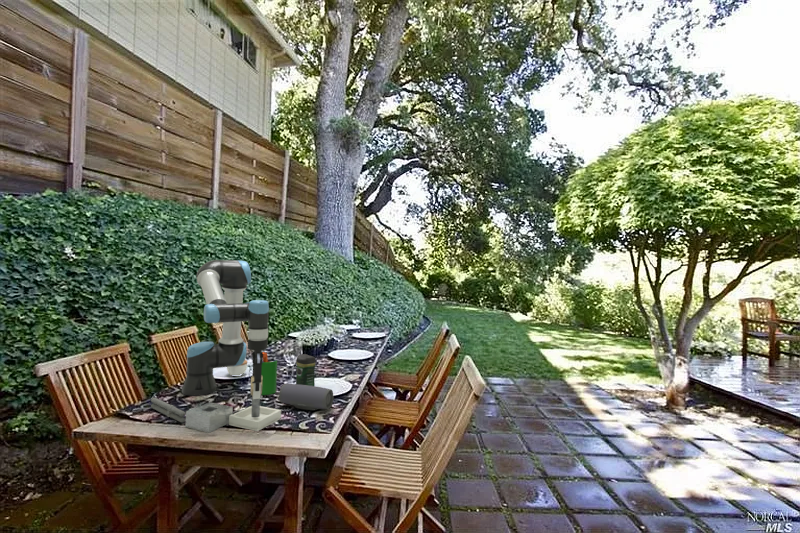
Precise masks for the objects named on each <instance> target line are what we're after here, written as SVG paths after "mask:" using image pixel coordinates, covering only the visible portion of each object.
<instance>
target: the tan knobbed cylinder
mask: <svg viewBox="0 0 800 533" xmlns="http://www.w3.org/2000/svg"><path fill="white" fill-rule="evenodd" d="M262 378H263V376H262V375H261V380H262ZM252 382H254V375H251V376H250V395H251V406H252V414H251V417H254V418H255V417H259V416H260V406H261V398H260V399H253V384H254V383H252ZM261 394H262V381H261ZM261 394H260V396H262V395H261Z"/></svg>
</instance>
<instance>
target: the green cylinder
mask: <svg viewBox="0 0 800 533" xmlns="http://www.w3.org/2000/svg"><path fill="white" fill-rule="evenodd" d="M261 352H262V351H261ZM262 354H263V358H262V373H261V375H262V376H263V378H262V394H261V395H260V396H269V395H274V394H275V393H277V381H278V380H277V377H278V376H277V375H278V360H273V361H271V360H269V357H268V356H269V355H268V353H267V352H262Z"/></svg>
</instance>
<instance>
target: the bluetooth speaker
mask: <svg viewBox="0 0 800 533" xmlns="http://www.w3.org/2000/svg"><path fill="white" fill-rule="evenodd" d="M334 399H335V396H334V392H333V390H332V389H330V388H326V387H321V386H316V385H315V386H309V385H299V384H296V383H283V385H281V387H280V390H279V393H278V400H279V402H281V403H283V404H286V405H291V406H294V408H295V409H301V410H307V411H316V410H318V409H321V410H329V409H330V408H331V407H332V405H333V403H334Z"/></svg>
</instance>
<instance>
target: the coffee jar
mask: <svg viewBox="0 0 800 533" xmlns="http://www.w3.org/2000/svg"><path fill="white" fill-rule="evenodd" d="M295 360H296V361H295V363H296V377H295V378H296V380H295V384H299V385H309V386H316V385H315V367H316V357H314V356H312V355H308V354H306V353H304V354H303V353H302V354H298V355H297V356H296V359H295Z"/></svg>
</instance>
